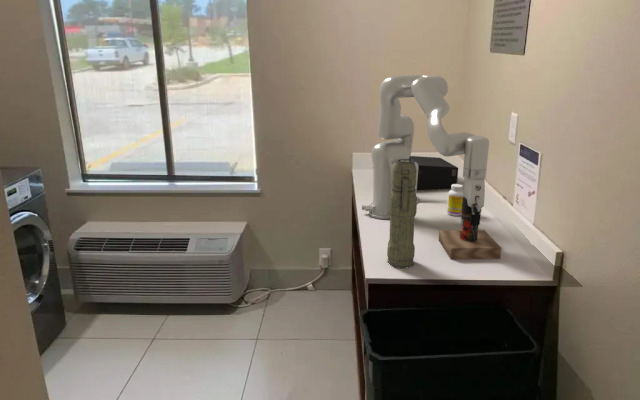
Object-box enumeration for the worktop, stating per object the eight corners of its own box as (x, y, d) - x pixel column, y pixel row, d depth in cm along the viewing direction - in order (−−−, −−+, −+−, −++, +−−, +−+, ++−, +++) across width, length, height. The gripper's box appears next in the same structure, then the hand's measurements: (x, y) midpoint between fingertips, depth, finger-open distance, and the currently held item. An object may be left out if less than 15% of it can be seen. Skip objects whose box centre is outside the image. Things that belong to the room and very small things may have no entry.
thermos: (390, 270, 158) (394, 165, 148) (384, 256, 169) (387, 157, 159) (417, 269, 159) (423, 164, 148) (409, 255, 170) (414, 156, 160)
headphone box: (378, 179, 269) (378, 154, 265) (439, 177, 274) (440, 152, 269) (390, 192, 246) (391, 164, 241) (456, 189, 250) (459, 161, 246)
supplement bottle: (463, 216, 208) (465, 187, 204) (447, 216, 209) (449, 187, 206) (462, 212, 214) (464, 183, 211) (446, 211, 216) (448, 183, 212)
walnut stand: (450, 259, 166) (451, 248, 165) (438, 240, 183) (439, 230, 182) (500, 258, 167) (501, 247, 165) (483, 240, 183) (484, 230, 182)
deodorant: (480, 239, 172) (484, 198, 168) (467, 242, 170) (471, 200, 166) (468, 234, 177) (472, 194, 173) (456, 237, 175) (459, 196, 171)
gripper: (494, 179, 158) (489, 228, 163) (477, 166, 175) (473, 212, 180) (471, 179, 158) (466, 229, 163) (456, 167, 175) (452, 212, 180)
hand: (470, 220), depth 172 cm, fingers open, 9 cm apart
